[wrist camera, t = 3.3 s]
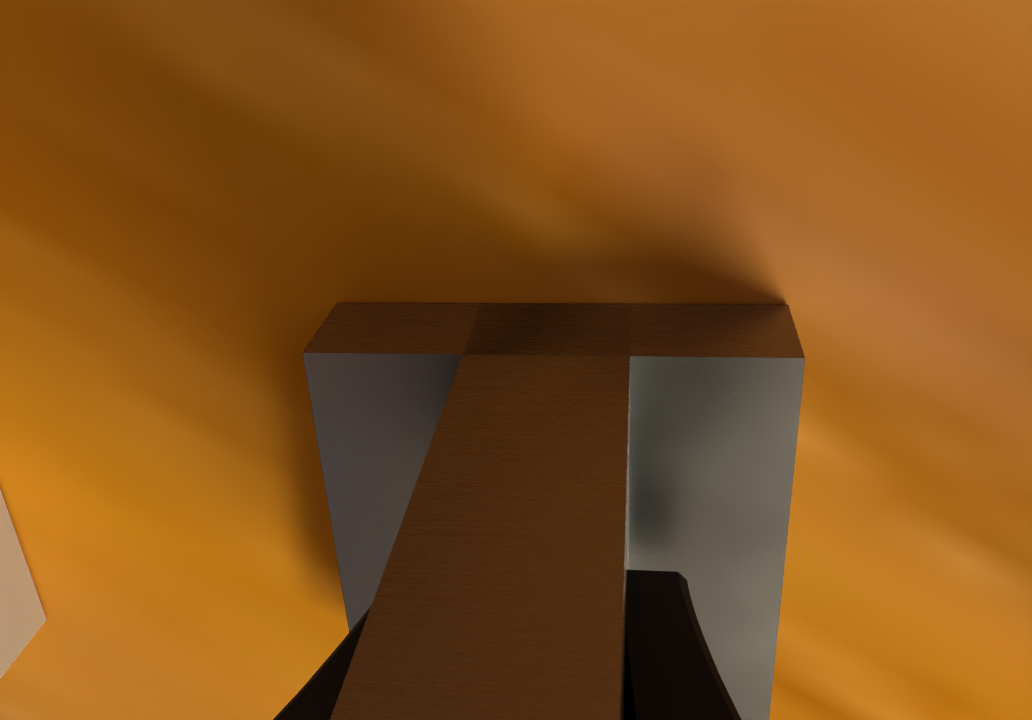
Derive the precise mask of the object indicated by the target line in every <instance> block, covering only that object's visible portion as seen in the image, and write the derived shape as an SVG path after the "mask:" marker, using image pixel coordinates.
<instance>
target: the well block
mask: <svg viewBox="0 0 1032 720" xmlns="http://www.w3.org/2000/svg"><path fill="white" fill-rule="evenodd" d="M46 620H47V619H46V617H45V614H44V611H43V608H42V605H41V602H40V600H39V597H38V594H37V591H36V588H35V586H34V583H33V580H32V577H31V574H30V571H29V569H28V566H27V563H26V560H25V557H24V555H23V552H22V549H21V546H20V543H19V540H18V538H17V535H16V532H15V529H14V526H13V524H12V521H11V518H10V515H9V512H8V509H7V507H6V504H5V501H4V498H3V495H2V493H1V490H0V679H1V677H2V676H3V675H4V673H5V672H6V671H7V670H8V668H9V667H10V666H11V664H12V663H13V662H14V661H15V659H16V658H17V657H18V655H19V654H20V653H21V652H22V650H23V649H24V648H25V647H26V645H27V644H28V643H29V641H30V640H31V639H32V638H33V636H34V635H35V634H36V632H37V631H38V630H39V629H40V627H41V626H42V625H43V624H44V622H45V621H46Z"/></svg>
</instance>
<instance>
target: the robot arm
mask: <svg viewBox="0 0 1032 720" xmlns="http://www.w3.org/2000/svg"><path fill="white" fill-rule="evenodd" d="M370 608H371V606H370V607H369V609H368V610H367V611H366V612H365V614H364V615H363V616H362V618H361V619H360V620H359V621H358V623H357V624H356V625H355V626H354V627H353V629H352V630H351V631H350V632H349V634H348V635H347V636H346V637H345V639H344V640H343V641H342V642H341V644H340V645H339V646H338V647H337V648H336V649H335V651H334V652H333V653H332V654H331V655H330V656H329V658H328V659H327V660H326V661H325V662H324V663H323V665H322V666H321V667H320V668H319V669H318V671H317V672H316V673H315V674H314V675H313V676H312V678H311V679H310V680H309V681H308V682H307V683H306V685H305V686H304V687H303V688H302V689H301V690H300V691H299V692H298V693H297V695H296V696H295V697H294V698H293V699H292V700H291V701H290V702H289V703H288V704H287V705H286V706H285V707H284V708H283V709H282V711H281V712H280V713H279V714H278V715H277V716H276V717H275V718H274V719H273V720H330V718H331V715H332V713H333V710H334V707H335V704H336V702H337V699H338V696H339V693H340V691H341V688H342V685H343V682H344V680H345V677H346V674H347V671H348V669H349V666H350V663H351V660H352V658H353V655H354V652H355V649H356V647H357V644H358V641H359V638H360V636H361V633H362V630H363V627H364V625H365V622H366V619H367V616H368V614H369V611H370ZM625 720H741V718H740V716H739V714H738V712H737V710H736V707H735V705H734V703H733V701H732V699H731V697H730V695H729V693H728V691H727V689H726V687H725V685H724V683H723V681H722V679H721V676H720V674H719V672H718V669H717V667H716V665H715V663H714V660H713V658H712V656H711V653H710V651H709V648H708V646H707V643H706V641H705V638H704V636H703V633H702V630H701V627H700V625H699V622H698V619H697V616H696V613H695V610H694V607H693V603H692V600H691V596H690V592H689V588H688V582H687V580H686V579H685V578H684V577H683V576H682V575H681V574H680V573H679V572H676V571H650V570H627V596H626V640H625Z"/></svg>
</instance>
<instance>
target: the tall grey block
mask: <svg viewBox="0 0 1032 720" xmlns="http://www.w3.org/2000/svg"><path fill="white" fill-rule="evenodd" d="M303 359H304V365H305V371H306V377H307V383H308V389H309V394H310V400H311V406H312V412H313V418H314V424H315V430H316V436H317V442H318V448H319V454H320V460H321V466H322V472H323V478H324V484H325V490H326V496H327V502H328V508H329V513H330V519H331V525H332V531H333V537H334V543H335V549H336V555H337V561H338V567H339V573H340V579H341V585H342V591H343V597H344V603H345V609H346V615H347V621H348V626H349V632H350V631H351V630H352V629H353V627H354V626H355V625H356V624H357V623H358V621H359V620H360V619H361V618H362V616H363V615H364V614H365V612H366V611H367V610H368V609H369V607H370V606H371V608H370V611H369V614H368V616H367V619H366V622H365V625H364V627H363V630H362V633H361V636H360V638H359V641H358V644H357V647H356V649H355V652H354V655H353V658H352V660H351V663H350V666H349V669H348V671H347V674H346V677H345V680H344V682H343V685H342V688H341V691H340V693H339V696H338V699H337V702H336V704H335V707H334V710H333V713H332V715H331V718H330V720H625V640H626V596H627V570H650V571H676V572H679V573H680V574H681V575H682V576H683V577H684V578H685V579H686V580H687V582H688V588H689V592H690V596H691V600H692V603H693V607H694V610H695V613H696V616H697V619H698V622H699V625H700V627H701V630H702V633H703V636H704V638H705V641H706V643H707V646H708V648H709V651H710V653H711V656H712V658H713V660H714V663H715V665H716V667H717V669H718V672H719V674H720V676H721V679H722V681H723V683H724V685H725V687H726V689H727V691H728V693H729V695H730V697H731V699H732V701H733V703H734V705H735V707H736V710H737V712H738V714H739V716H740V718H741V720H769V713H770V703H771V693H772V683H773V673H774V664H775V654H776V644H777V634H778V624H779V614H780V604H781V594H782V584H783V574H784V564H785V554H786V544H787V534H788V524H789V514H790V504H791V494H792V484H793V474H794V464H795V454H796V444H797V434H798V424H799V414H800V404H801V394H802V384H803V374H804V364H805V356H804V353H803V350H802V347H801V344H800V341H799V338H798V334H797V331H796V328H795V325H794V322H793V319H792V316H791V312H790V309H789V306H788V305H750V304H489V303H336V305H335V306H334V308H333V309H332V311H331V312H330V313H329V315H328V316H327V318H326V319H325V321H324V322H323V324H322V325H321V327H320V328H319V329H318V331H317V332H316V334H315V335H314V337H313V338H312V340H311V341H310V343H309V344H308V345H307V347H306V348H305V350H304V351H303Z"/></svg>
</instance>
